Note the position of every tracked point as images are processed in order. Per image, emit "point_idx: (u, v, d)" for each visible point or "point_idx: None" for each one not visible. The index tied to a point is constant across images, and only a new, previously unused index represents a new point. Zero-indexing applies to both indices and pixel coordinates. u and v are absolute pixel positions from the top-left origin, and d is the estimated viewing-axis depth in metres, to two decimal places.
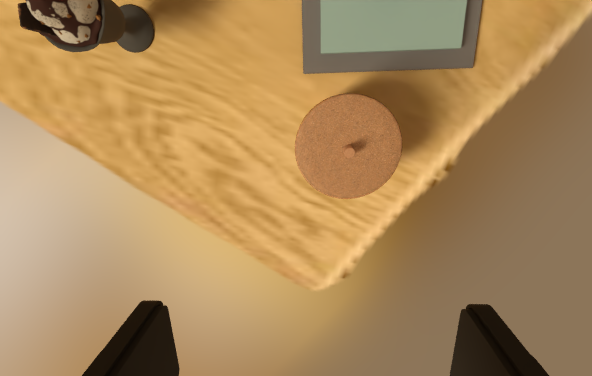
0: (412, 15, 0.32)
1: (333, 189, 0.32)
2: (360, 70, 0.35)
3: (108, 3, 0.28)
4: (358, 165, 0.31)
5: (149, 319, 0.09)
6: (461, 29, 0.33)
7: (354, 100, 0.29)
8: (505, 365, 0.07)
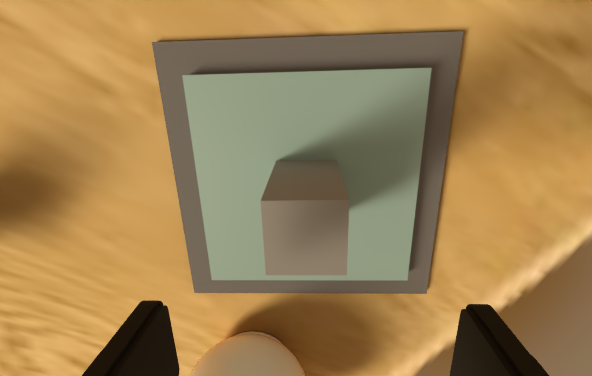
0: None
1: None
2: (272, 291, 0.25)
3: None
4: None
5: (149, 319, 0.09)
6: (407, 260, 0.23)
7: None
8: (505, 365, 0.07)
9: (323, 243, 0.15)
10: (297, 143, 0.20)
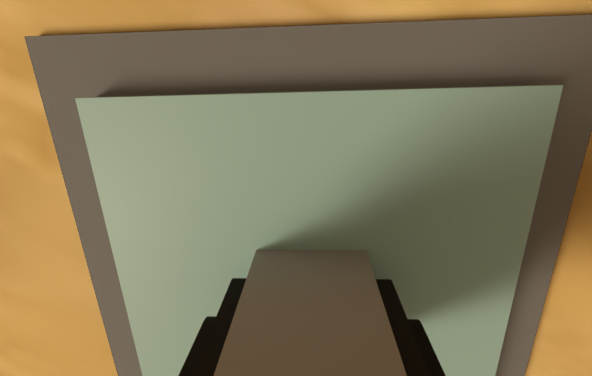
0: None
1: None
2: None
3: None
4: None
5: None
6: None
7: None
8: None
9: None
10: (294, 221, 0.11)
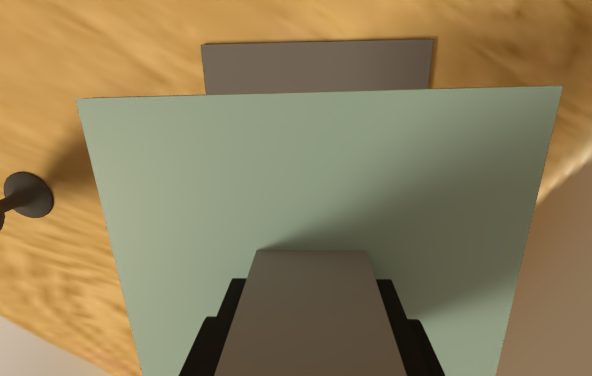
0: None
1: None
2: None
3: None
4: None
5: None
6: None
7: None
8: None
9: None
10: (295, 221, 0.11)
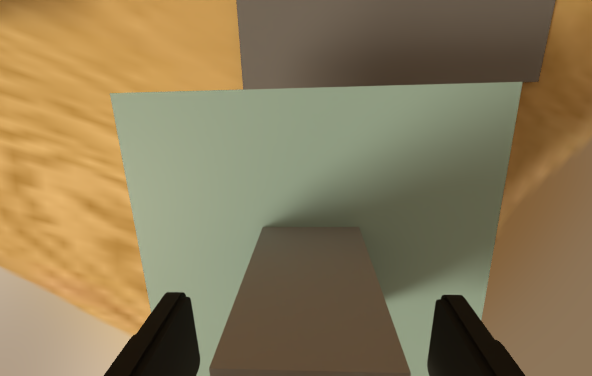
0: None
1: None
2: (341, 85, 0.20)
3: None
4: None
5: (175, 309, 0.09)
6: None
7: None
8: (470, 350, 0.08)
9: None
10: (296, 201, 0.13)
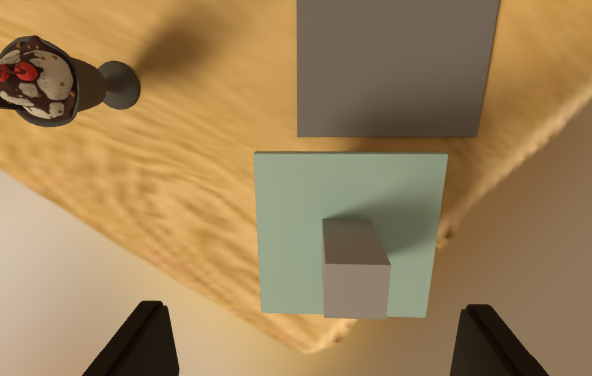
0: None
1: None
2: (357, 135, 0.33)
3: (86, 73, 0.26)
4: None
5: (149, 319, 0.09)
6: (425, 300, 0.28)
7: None
8: (505, 365, 0.07)
9: (369, 295, 0.20)
10: (340, 206, 0.25)
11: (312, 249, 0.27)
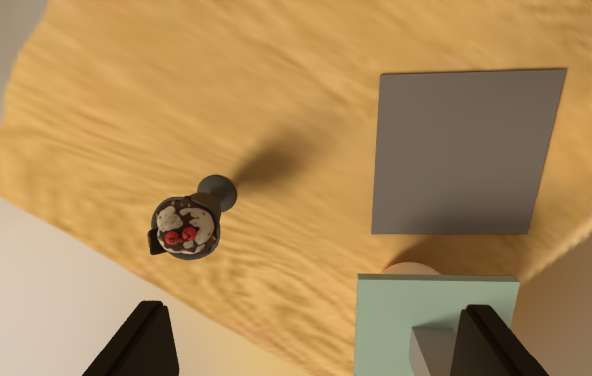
0: None
1: None
2: (424, 233, 0.39)
3: (215, 210, 0.31)
4: None
5: (149, 319, 0.09)
6: None
7: None
8: (505, 365, 0.07)
9: None
10: (427, 318, 0.31)
11: (401, 348, 0.32)
